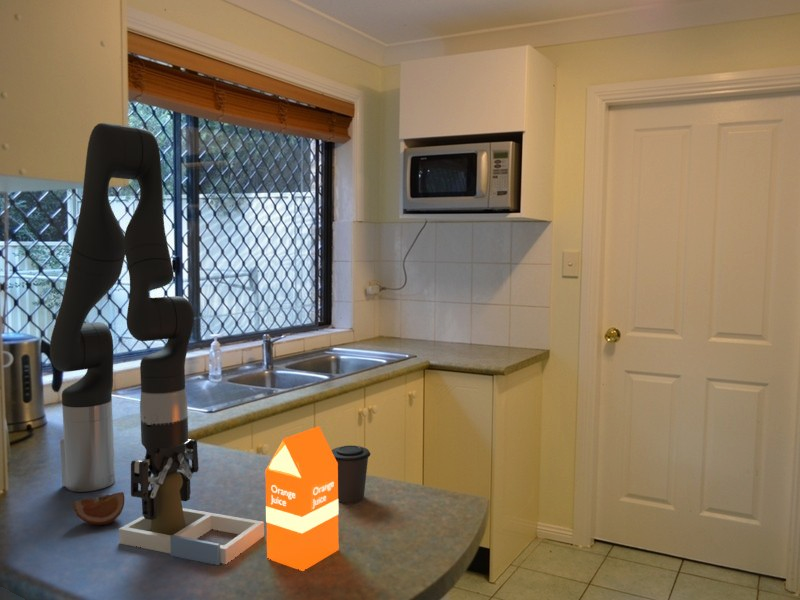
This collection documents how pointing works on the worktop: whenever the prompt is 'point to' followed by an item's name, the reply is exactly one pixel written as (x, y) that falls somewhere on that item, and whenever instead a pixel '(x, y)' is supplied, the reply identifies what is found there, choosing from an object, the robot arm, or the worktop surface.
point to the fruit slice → (100, 508)
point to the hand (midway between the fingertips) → (167, 509)
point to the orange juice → (302, 501)
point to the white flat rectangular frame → (195, 536)
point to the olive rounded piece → (169, 506)
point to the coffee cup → (351, 472)
